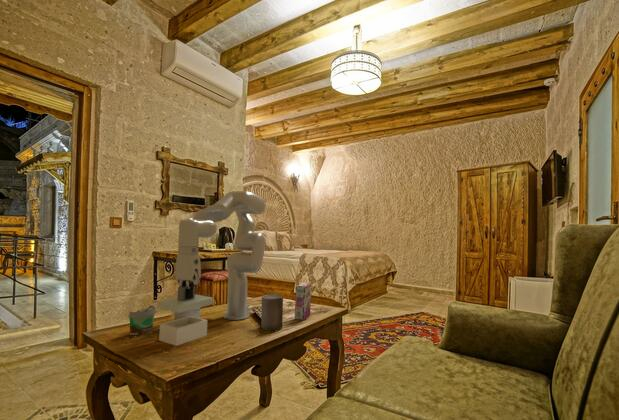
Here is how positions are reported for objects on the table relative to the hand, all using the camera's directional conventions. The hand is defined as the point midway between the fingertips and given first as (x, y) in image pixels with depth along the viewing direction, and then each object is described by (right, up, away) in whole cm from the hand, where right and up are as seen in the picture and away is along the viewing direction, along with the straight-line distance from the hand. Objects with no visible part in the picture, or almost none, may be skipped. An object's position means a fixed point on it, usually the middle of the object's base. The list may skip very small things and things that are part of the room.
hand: (186, 297), depth 124 cm
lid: (0, -3, 0) cm, 3 cm away
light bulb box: (-9, -18, +25) cm, 32 cm away
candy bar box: (+45, -20, +36) cm, 61 cm away
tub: (-1, -16, -1) cm, 16 cm away
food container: (-19, -16, +5) cm, 25 cm away
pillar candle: (+31, -19, +18) cm, 41 cm away
